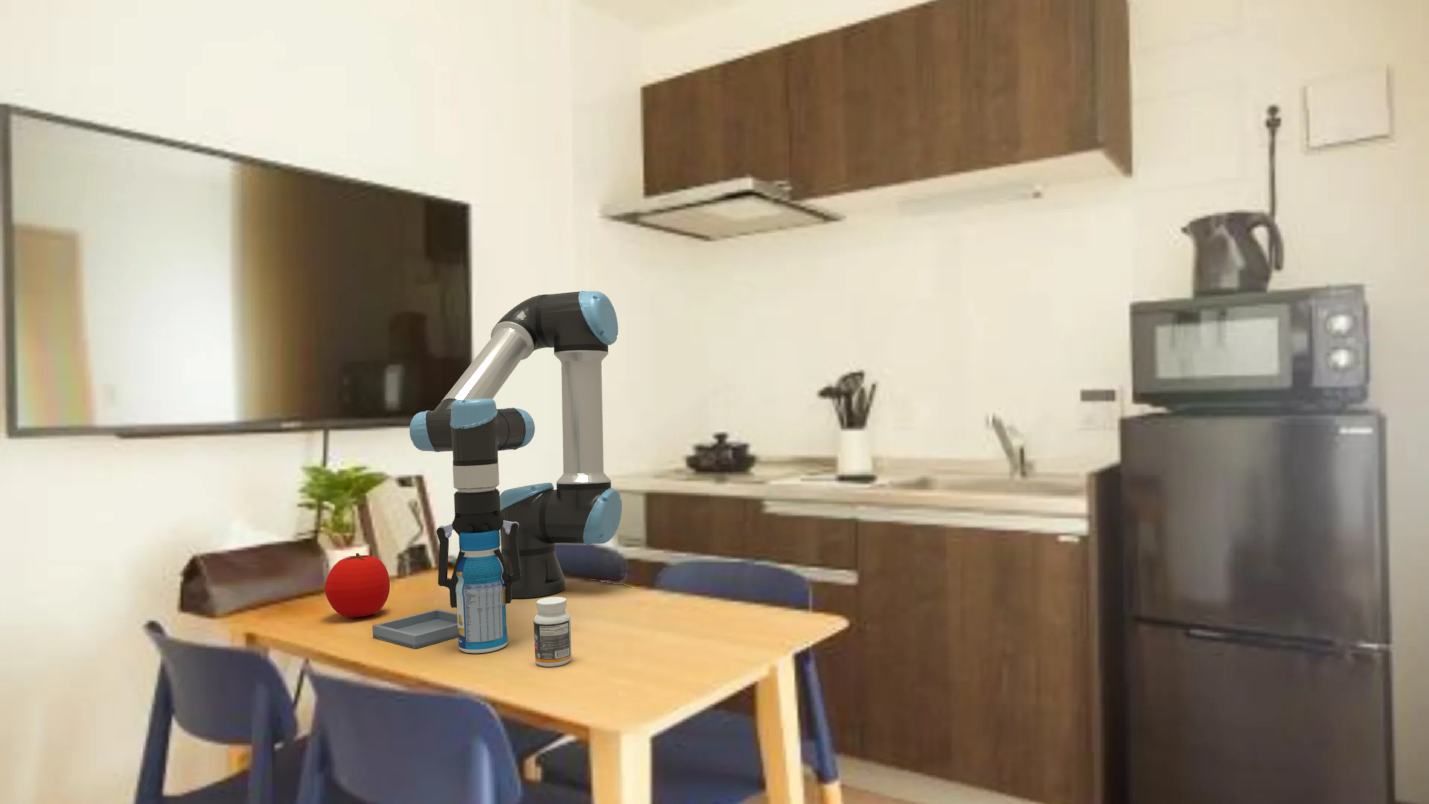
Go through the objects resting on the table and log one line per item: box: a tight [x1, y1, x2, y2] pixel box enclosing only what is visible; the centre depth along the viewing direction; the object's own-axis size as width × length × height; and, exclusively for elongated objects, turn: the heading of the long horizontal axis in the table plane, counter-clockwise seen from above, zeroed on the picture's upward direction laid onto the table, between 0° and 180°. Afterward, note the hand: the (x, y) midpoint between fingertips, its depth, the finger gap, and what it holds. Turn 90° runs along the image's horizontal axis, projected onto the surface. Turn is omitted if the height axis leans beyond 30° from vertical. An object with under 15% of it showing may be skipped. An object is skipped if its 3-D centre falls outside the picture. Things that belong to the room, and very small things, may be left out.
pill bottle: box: [533, 596, 572, 668], centre depth 139 cm, size 6×6×10 cm
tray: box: [372, 608, 459, 650], centre depth 159 cm, size 14×14×2 cm
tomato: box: [324, 552, 391, 619], centre depth 174 cm, size 12×12×13 cm
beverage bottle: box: [455, 530, 509, 654], centre depth 149 cm, size 8×8×20 cm
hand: (482, 624), depth 149 cm, fingers closed on beverage bottle, 6 cm apart
